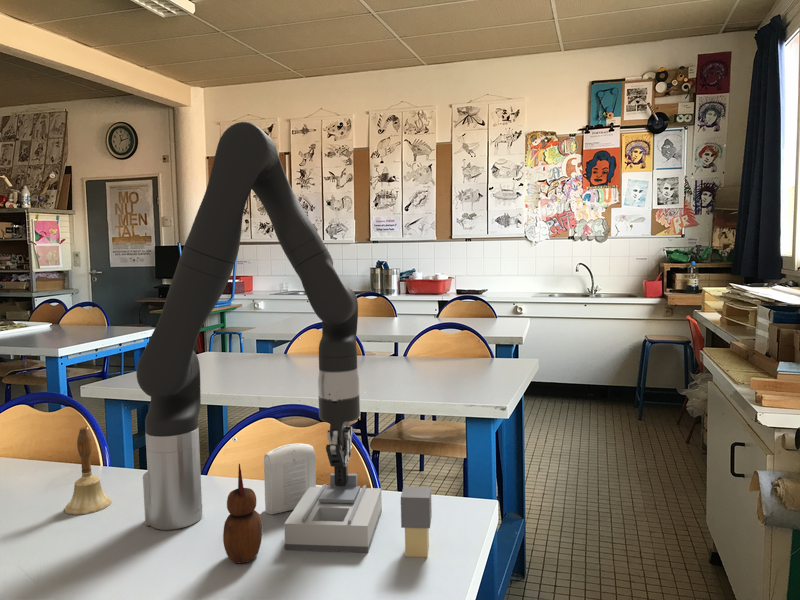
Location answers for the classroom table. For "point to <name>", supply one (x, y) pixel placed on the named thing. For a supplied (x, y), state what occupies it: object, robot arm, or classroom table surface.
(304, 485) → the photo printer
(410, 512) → the plug
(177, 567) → the classroom table surface
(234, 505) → the wooden figurine
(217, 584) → the classroom table surface
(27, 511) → the classroom table surface
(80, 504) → the hand bell
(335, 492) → the shutter
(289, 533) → the socket
